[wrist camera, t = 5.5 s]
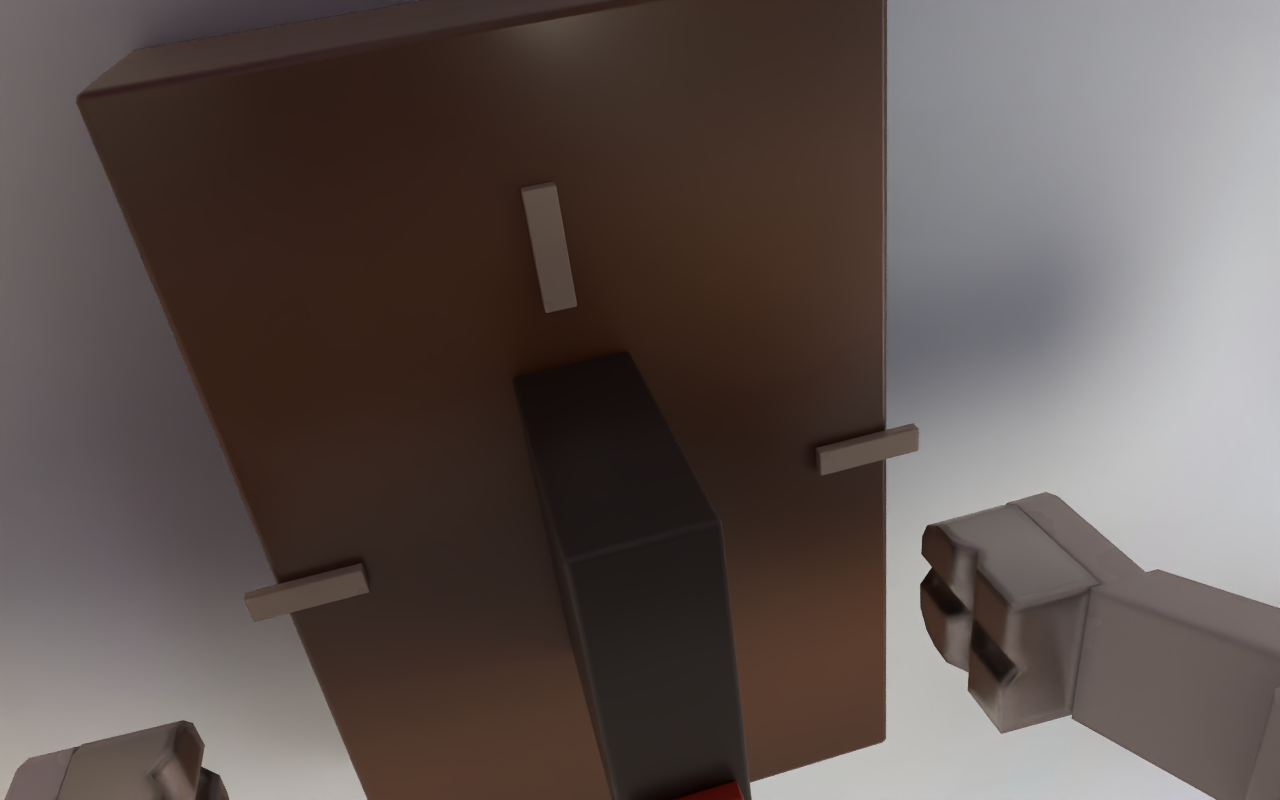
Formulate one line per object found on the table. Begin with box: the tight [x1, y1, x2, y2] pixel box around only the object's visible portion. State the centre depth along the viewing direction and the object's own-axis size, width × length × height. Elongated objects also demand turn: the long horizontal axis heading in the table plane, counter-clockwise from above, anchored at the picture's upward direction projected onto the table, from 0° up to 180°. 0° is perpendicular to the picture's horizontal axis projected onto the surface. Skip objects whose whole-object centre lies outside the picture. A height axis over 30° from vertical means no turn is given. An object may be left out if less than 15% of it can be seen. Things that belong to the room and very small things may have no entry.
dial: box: [513, 351, 751, 800], centre depth 11 cm, size 4×1×4 cm, turn 7°
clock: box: [76, 0, 919, 800], centre depth 13 cm, size 12×9×3 cm
